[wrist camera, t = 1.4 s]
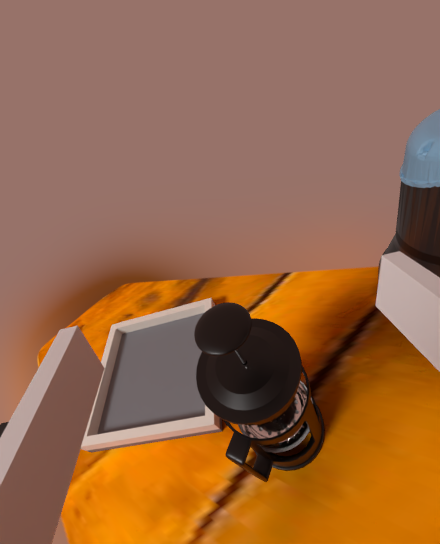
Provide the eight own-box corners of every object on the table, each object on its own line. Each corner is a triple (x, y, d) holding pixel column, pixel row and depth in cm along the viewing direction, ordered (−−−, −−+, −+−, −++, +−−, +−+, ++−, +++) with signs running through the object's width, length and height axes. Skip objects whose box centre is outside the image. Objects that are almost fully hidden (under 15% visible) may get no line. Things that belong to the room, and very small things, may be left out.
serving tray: (217, 307, 51) (211, 297, 49) (222, 431, 36) (214, 424, 34) (120, 332, 55) (111, 324, 53) (90, 452, 40) (76, 447, 38)
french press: (264, 372, 40) (202, 261, 24) (334, 396, 34) (310, 273, 19) (229, 462, 33) (117, 390, 18) (308, 507, 28) (244, 459, 13)
